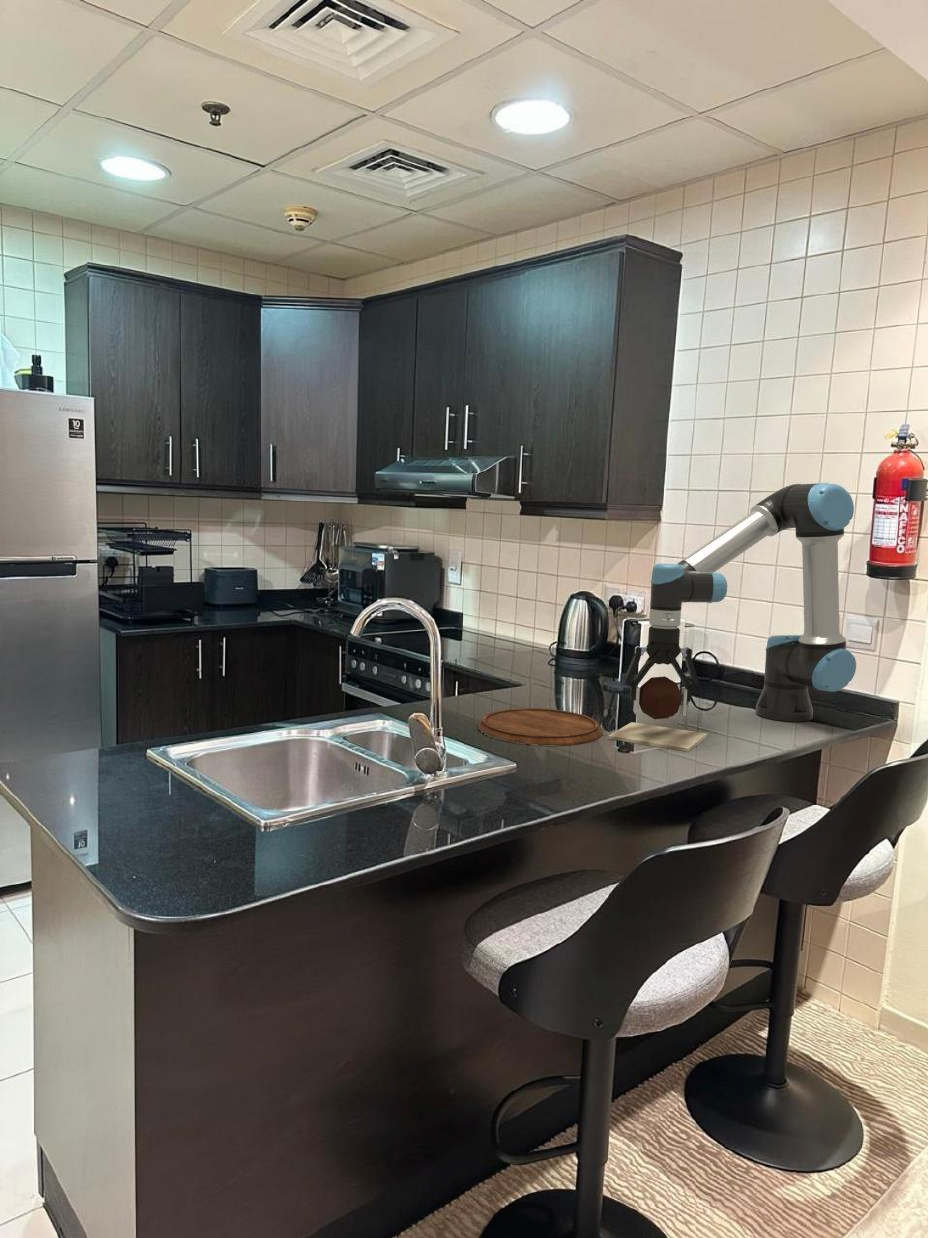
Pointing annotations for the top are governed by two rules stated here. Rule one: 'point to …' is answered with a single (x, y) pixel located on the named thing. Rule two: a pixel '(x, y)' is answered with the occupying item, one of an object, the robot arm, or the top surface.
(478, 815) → the top surface
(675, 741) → the birch pad
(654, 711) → the chocolate ice cream sundae
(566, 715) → the cutting board
